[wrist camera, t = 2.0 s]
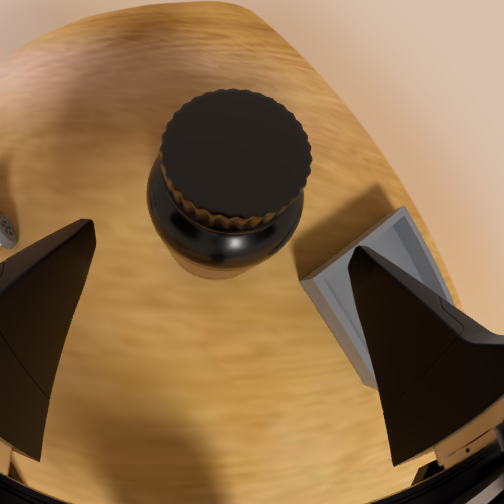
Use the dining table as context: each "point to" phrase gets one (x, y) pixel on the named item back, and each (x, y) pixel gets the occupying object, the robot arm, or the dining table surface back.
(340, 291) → the holder tray
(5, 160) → the dining table surface
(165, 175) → the supplement bottle
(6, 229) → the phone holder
